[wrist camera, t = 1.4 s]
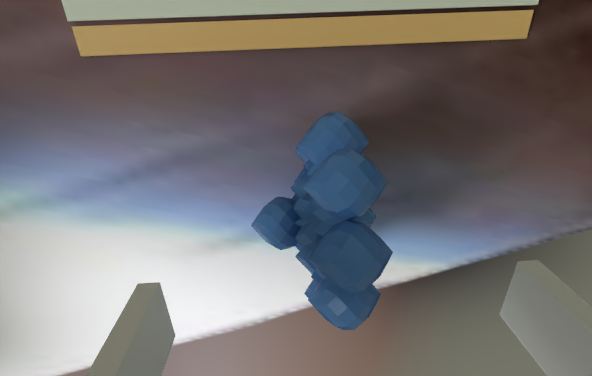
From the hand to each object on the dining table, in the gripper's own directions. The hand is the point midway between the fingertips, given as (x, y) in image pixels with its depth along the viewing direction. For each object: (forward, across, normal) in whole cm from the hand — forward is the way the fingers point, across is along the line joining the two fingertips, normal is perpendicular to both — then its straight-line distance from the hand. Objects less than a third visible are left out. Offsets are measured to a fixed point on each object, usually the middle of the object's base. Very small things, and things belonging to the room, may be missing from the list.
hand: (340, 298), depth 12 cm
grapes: (+12, 0, 0) cm, 12 cm away
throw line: (+12, 0, +9) cm, 15 cm away
